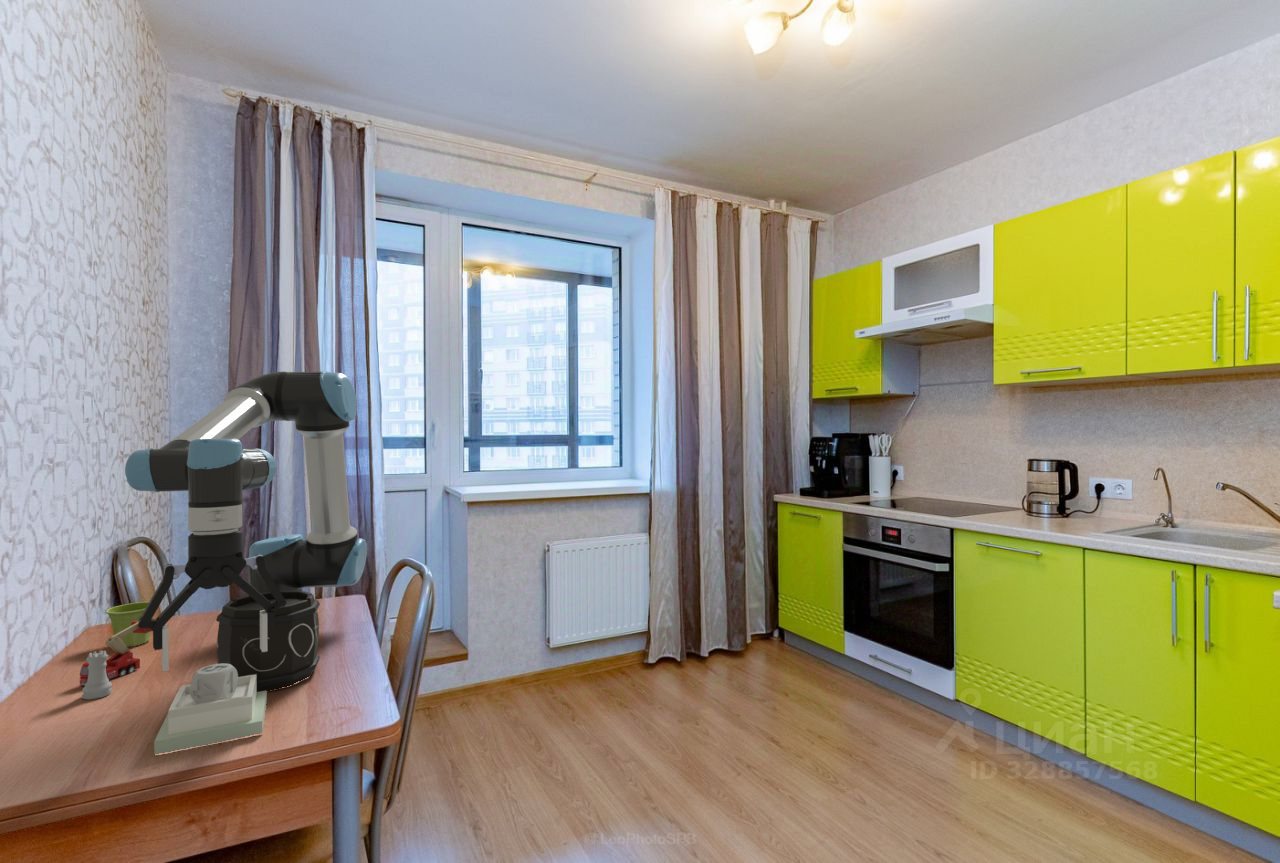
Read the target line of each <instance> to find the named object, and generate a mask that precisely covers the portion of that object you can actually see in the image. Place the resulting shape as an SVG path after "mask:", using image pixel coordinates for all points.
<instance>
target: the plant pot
mask: <svg viewBox="0 0 1280 863" xmlns="http://www.w3.org/2000/svg"><path fill="white" fill-rule="evenodd" d="M149 602H150V601H141V602H132V603H126V604H122V605H117V606H112V607H110V608H108V609H106V610H105V612H106V614H108V618H109V620H110V621H111V627H112V632H113V636H114V635H116V634H117V633H119V632H121V631H123V630H125V629H126V628H128V627H130V626H131V623H132V622H133V621H139V619H140V617H141V616H142V614H143V612H144V610H145V609H146V607H147V605H148V603H149ZM152 619H154V616H153V617H152ZM150 636H151V632H148V633H133V632H131V633H129V634H128V635H126V636H124V637H122V638H121V640H122V641H123V643H124V644H125V645H126V646H127V648H129V647H128V646H134V647H136V646H135V645H138V646H141V645H140V644H142V645H144V644H143V643H145V644H146V643H147V641H148V642H149V641H150Z"/></svg>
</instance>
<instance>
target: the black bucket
mask: <svg viewBox="0 0 1280 863" xmlns="http://www.w3.org/2000/svg"><path fill="white" fill-rule="evenodd" d="M280 592H281V594H282V595H283V597H284V599H285V600H286V605H285V606H283V607H279V608H277V609H276V610H275V612H274V629H273V630H268V631H267V651H266V652H262V651H261V649H260V611H262V610H265V609H264V608H263V607H262V606H261V605H260V604H259V603H257V602H256V601H255V600H254V599H253V598H252V597H250V596H249V595H248V594H247V595H245V596H240V597H237V598H234V599H233V600H232V599H231V600H229V601H228V602H227V603H225V604H224V605H223V606H222V609H221V612H220V613H219V614H218V615H217V617H216V619H215V620H216V622H218V630H217V636H216V658H217V664H221V663H227V664H231V665H232V666H234V667H235V669H236V670H237V673H238V677H242V676H248V675H255V674H257V692H261V691H270V690H274V689H279V688H282V687H287V686H290V685H293V684H294V683H296V682H298V681H301V680H303V679H305V678H307V677H309V676H311V677H312V675H313V673H314V671H315V670H316V669H317V666H318V664H319V661H320V658H321V655H319V654H318V651H319V650H318V648H319V641H320V640H319V639H320V621H319V613H318V609H319V607H320V604H321V603H320V601H319V600H318V599H315V596H314V594H313V593H311V592H307V591H303V590H302V591H280ZM261 594H262V595H263V596H264V597H265V598H266V599H267V600H269V601H270V602H272V601H274V600H275V599H274V597H273V596H272V594H271V593H270V592H266V593H261ZM311 674H312V675H311ZM279 690H280V689H279ZM270 692H271V691H270Z"/></svg>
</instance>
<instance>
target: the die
mask: <svg viewBox="0 0 1280 863" xmlns="http://www.w3.org/2000/svg"><path fill="white" fill-rule="evenodd" d="M237 683H238V673H237V670H236V669H235V667H234V666H232V665H231V664H227V663H221V664H218V663H215V664H209V665H206V666H204V667H201V668H199V669H198V670H197V671H196V672H194V674H193V677H192V679H191V682H190V684H191V686H190V694H191V697H192V699H193V700H194V701H195V702H196V703H198V704H200V703H206V702H212V701H218V700H224V699H229V698H231V697H232V695H233V694H234V692H235V690H236V687H237Z"/></svg>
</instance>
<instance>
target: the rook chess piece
mask: <svg viewBox="0 0 1280 863" xmlns="http://www.w3.org/2000/svg"><path fill="white" fill-rule="evenodd" d="M108 659H109V654H107V651H106V650H99V651H98V653H97V651H96V650H95V651H93V652H89V653H88V656H87V658H86V659H85V662H88V663H89V666H88V667H87V668H88V669H89V675H88V680H87V683H86V684H85V686H84V687H82V691H81V692H82V693H83V694H82V695H81V698H82V699H83V700H85V699H87V700H86V701H91V699H92V700H98V699H103V698H105V697H107V696H109V695H110V694H111V693H112V692H113V689H112V687H113V684H112V682H111V681H110V679H108V678H107V674H106V665H107V664H106V660H108Z"/></svg>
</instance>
